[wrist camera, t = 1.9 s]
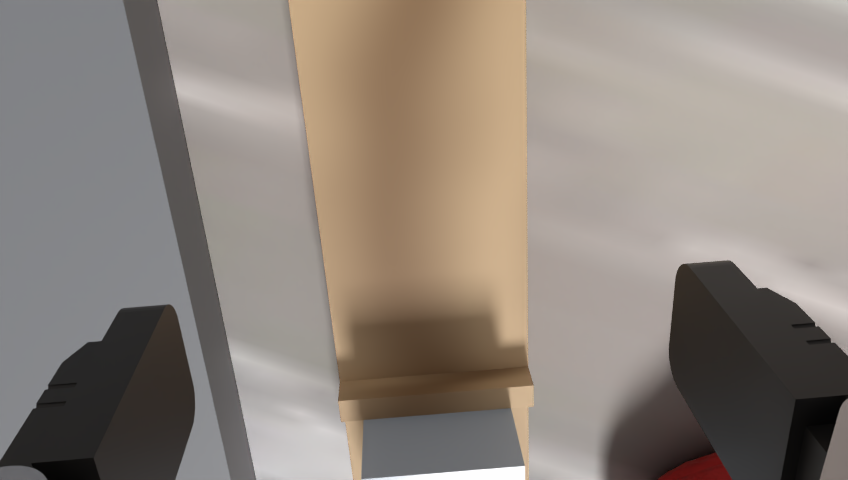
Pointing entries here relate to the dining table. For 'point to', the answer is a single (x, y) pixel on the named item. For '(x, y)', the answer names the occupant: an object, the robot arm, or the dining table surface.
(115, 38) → the plate
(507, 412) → the pale blue block
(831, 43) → the dining table surface
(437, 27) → the long wooden trough
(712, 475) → the pomegranate
